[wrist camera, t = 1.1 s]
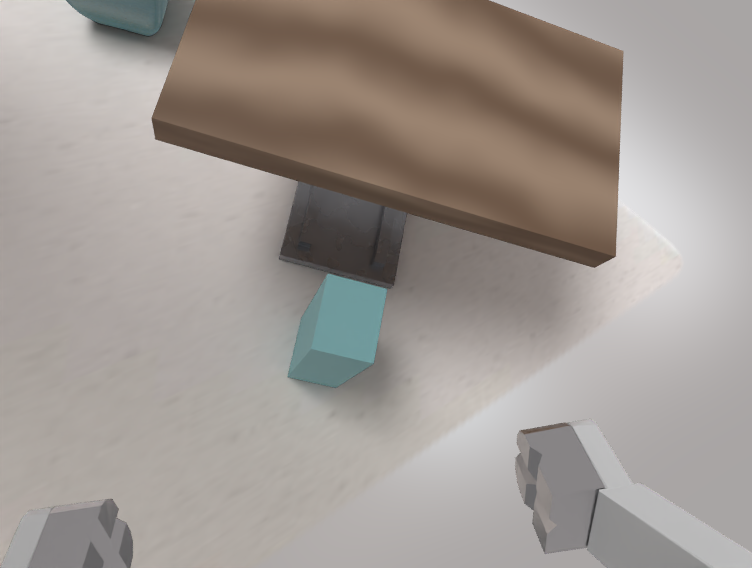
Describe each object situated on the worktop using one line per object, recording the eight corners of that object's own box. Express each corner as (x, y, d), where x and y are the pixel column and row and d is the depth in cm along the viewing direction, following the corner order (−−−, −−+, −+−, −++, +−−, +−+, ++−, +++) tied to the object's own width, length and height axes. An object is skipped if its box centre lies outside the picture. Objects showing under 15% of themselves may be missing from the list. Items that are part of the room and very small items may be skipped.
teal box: (335, 387, 47) (373, 363, 36) (287, 377, 46) (311, 348, 35) (347, 329, 49) (387, 289, 37) (301, 318, 48) (327, 273, 37)
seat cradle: (390, 288, 51) (397, 281, 49) (278, 258, 49) (281, 250, 47) (408, 189, 54) (415, 179, 52) (304, 158, 52) (307, 147, 50)
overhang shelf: (471, 331, 51) (615, 256, 33) (175, 255, 47) (151, 117, 28) (489, 186, 57) (623, 51, 38) (225, 103, 52) (232, -97, 33)
